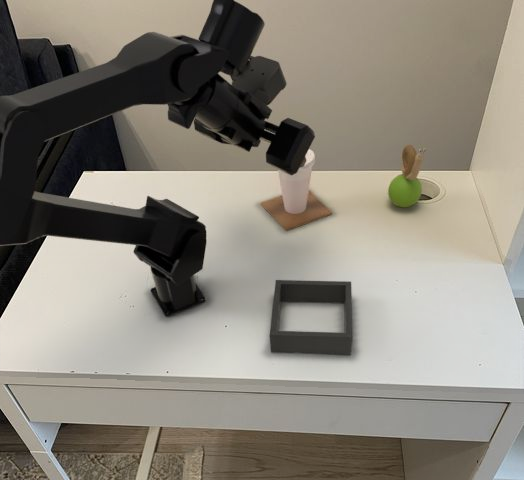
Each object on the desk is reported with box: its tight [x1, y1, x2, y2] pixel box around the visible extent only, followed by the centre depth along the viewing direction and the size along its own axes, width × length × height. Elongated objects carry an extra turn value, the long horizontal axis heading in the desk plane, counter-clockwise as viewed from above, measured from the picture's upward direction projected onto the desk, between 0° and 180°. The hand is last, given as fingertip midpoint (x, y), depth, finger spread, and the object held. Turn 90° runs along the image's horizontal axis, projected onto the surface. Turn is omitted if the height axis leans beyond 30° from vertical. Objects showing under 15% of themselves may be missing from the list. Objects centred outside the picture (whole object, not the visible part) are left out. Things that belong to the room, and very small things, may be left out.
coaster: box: [260, 190, 333, 232], centre depth 94 cm, size 9×9×1 cm
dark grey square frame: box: [269, 279, 354, 356], centre depth 75 cm, size 11×11×4 cm
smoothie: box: [277, 148, 316, 214], centre depth 89 cm, size 6×6×14 cm
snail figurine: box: [387, 144, 427, 208], centre depth 89 cm, size 5×6×12 cm
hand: (280, 153), depth 82 cm, fingers open, 9 cm apart
